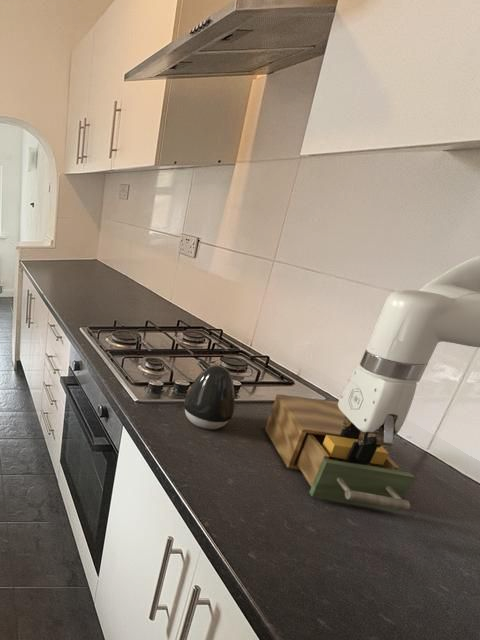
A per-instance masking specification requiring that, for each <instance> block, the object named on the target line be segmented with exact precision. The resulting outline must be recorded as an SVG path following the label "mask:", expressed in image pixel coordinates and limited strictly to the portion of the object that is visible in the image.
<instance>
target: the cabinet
mask: <svg viewBox="0 0 480 640" xmlns="http://www.w3.org/2000/svg"><path fill="white" fill-rule="evenodd" d="M338 402H339V401H333V400H326V399H318V398H310V397H303V396H295V395H288V394H280V393H277V394H276V396H275V398H274V401H273V404H272V408H271V410H270V413H269V417H268V419H267V423H266V425H265V428H264V431H265V432H266V434H267V436H268V438H269V439H270V441H271V443H272V444H273V446H274V447H275V449H276V451H277V453H278V454H279V456H280V458H281V459H282V461H283V463H284V464H285V466H286V468H287V469H289V470H290V469H291V470H297V471H301V470H300V468H299V467H298V465H297V464H296V462H295V460H296V458H297V455H298V453H299V450H300V447H301V445H302V442H303V440H304V437H305V435H306V433H312V434H318V435H325V436H326V435H331V436H338V437H339V436H340V434H341V431H342V429H345V428H343V422H344V420H345V415H344V414H343V413H342V411H341V410H340V409H339V407H338ZM375 435H376V434H372V433H369V434H368V437H371V436H373V437H375ZM382 447H383V448H384V449H385V450H386V448H387V445H382Z"/></svg>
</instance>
